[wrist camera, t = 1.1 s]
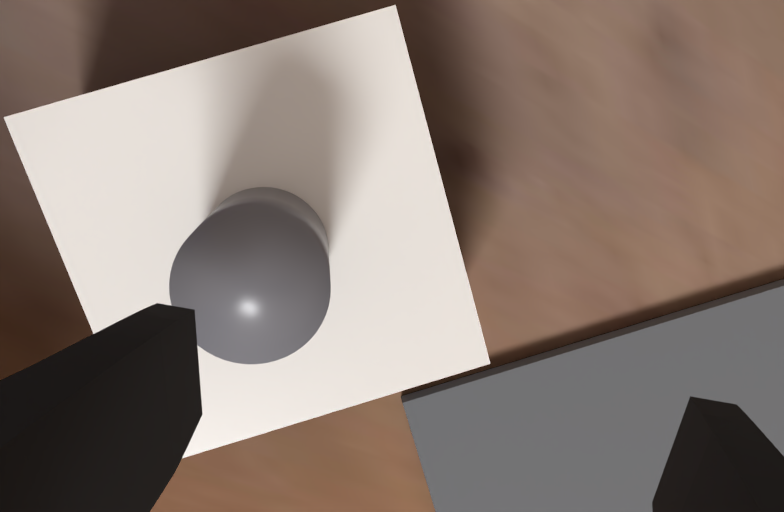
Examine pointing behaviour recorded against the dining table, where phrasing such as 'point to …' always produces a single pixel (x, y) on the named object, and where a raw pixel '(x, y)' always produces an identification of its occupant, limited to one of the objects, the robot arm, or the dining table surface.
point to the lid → (266, 221)
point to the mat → (598, 410)
